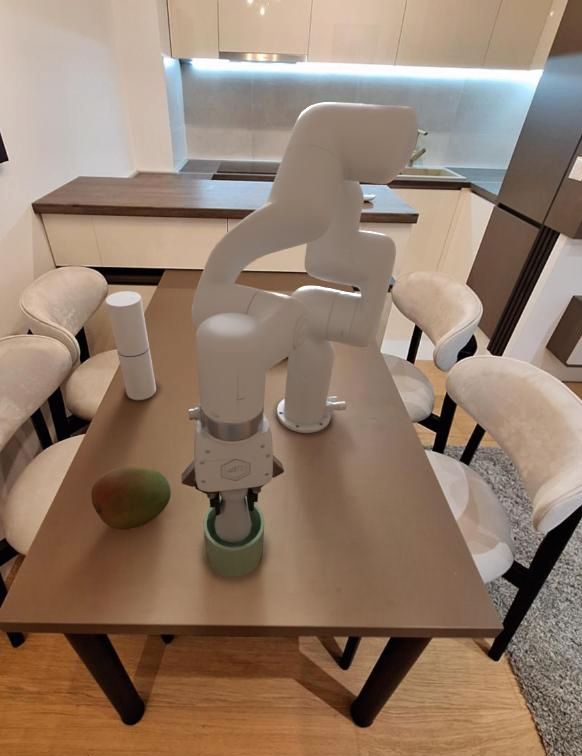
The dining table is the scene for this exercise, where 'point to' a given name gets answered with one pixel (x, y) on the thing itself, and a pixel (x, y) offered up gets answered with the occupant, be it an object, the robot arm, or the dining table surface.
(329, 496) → the dining table surface
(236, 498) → the salt shaker
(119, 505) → the fruit
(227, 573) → the cup
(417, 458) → the dining table surface
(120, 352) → the cylindrical container
